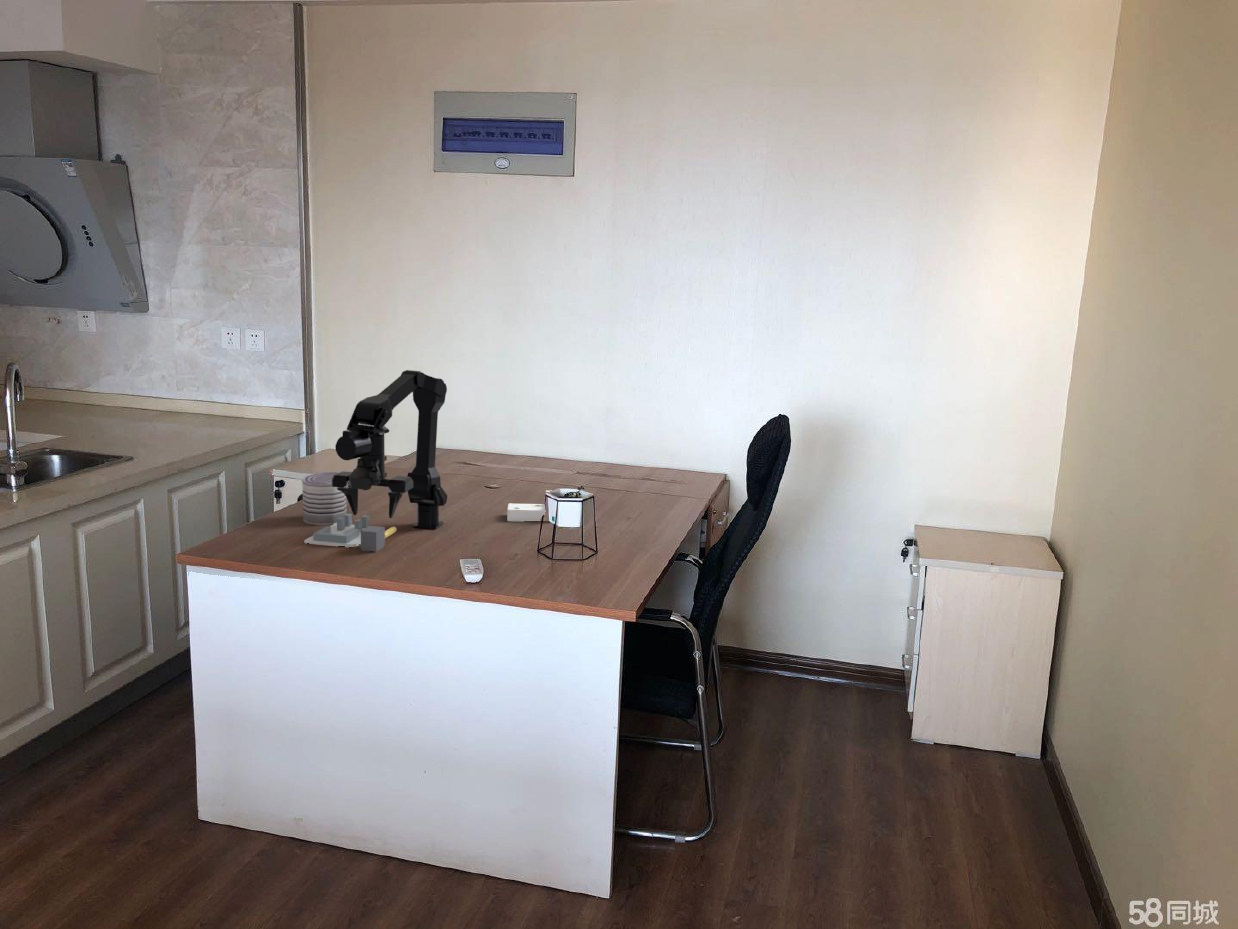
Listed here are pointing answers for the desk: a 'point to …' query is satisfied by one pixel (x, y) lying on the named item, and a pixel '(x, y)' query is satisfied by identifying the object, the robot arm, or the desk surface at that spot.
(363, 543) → the plug
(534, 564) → the desk surface
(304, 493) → the can
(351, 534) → the board
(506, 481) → the desk surface
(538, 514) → the bracket
